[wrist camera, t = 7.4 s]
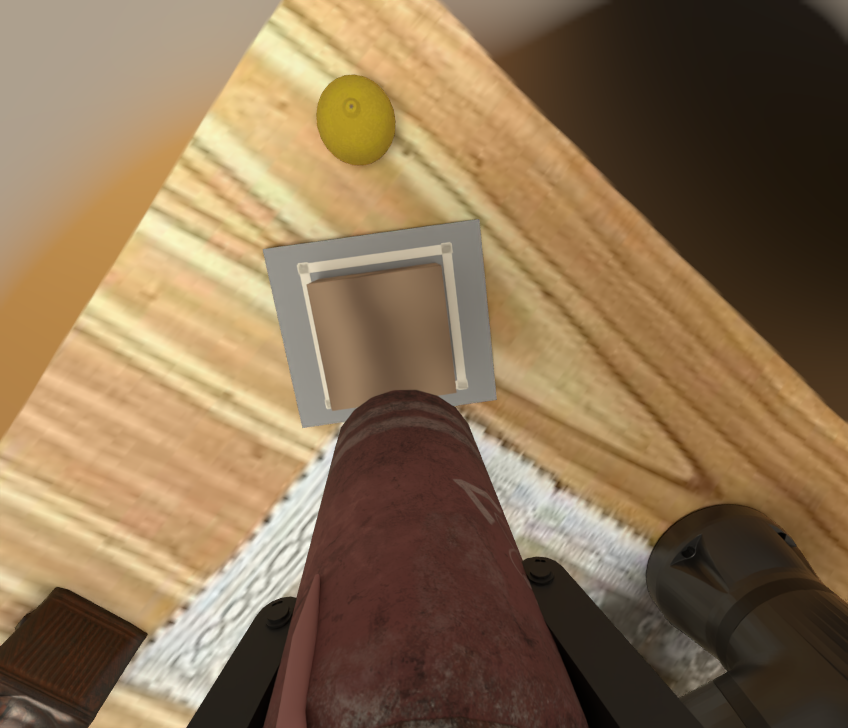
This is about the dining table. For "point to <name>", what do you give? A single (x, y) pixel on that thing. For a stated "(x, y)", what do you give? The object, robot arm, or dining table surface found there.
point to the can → (416, 590)
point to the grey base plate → (375, 252)
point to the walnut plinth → (383, 333)
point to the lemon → (355, 120)
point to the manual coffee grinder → (63, 663)
